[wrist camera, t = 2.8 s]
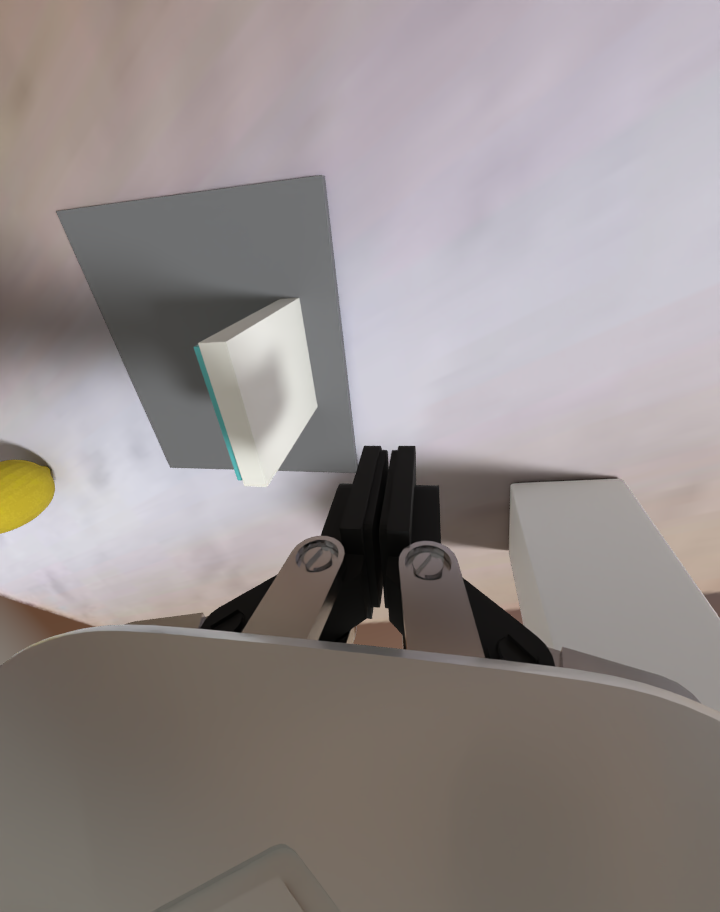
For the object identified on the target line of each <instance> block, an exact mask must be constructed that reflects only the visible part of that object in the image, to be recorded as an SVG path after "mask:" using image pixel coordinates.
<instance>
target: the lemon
mask: <svg viewBox="0 0 720 912" xmlns="http://www.w3.org/2000/svg"><path fill="white" fill-rule="evenodd" d="M54 492H55V484H54V481H53V478H52V476H51V475H50V469H49V468H48V467H46V466H40V465H38V464H36V463H33V462H30V461H26V460H6V461H1V462H0V534H1V533H5V532H8V531H11V530H14V529H16V528H18V527H20V526H23V525H24V524H26V523H28V522H30V521H31V520H33V519H34V518H36V517H37V516H38V515H39V514H40V513H42V512H43V511H44V510H45V508H46V507H47V506H48V505H49V504H50V502H51V501H52V498H53V496H54Z"/></svg>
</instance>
